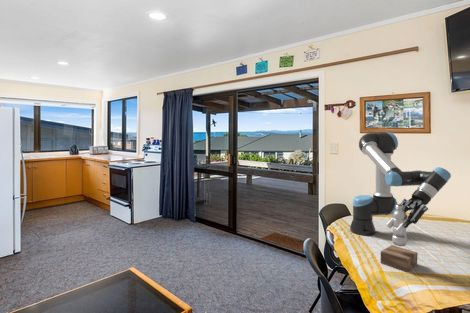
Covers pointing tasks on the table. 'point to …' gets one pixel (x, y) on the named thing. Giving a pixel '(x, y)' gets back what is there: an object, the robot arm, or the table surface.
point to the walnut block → (399, 258)
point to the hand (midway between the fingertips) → (393, 229)
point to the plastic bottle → (398, 218)
